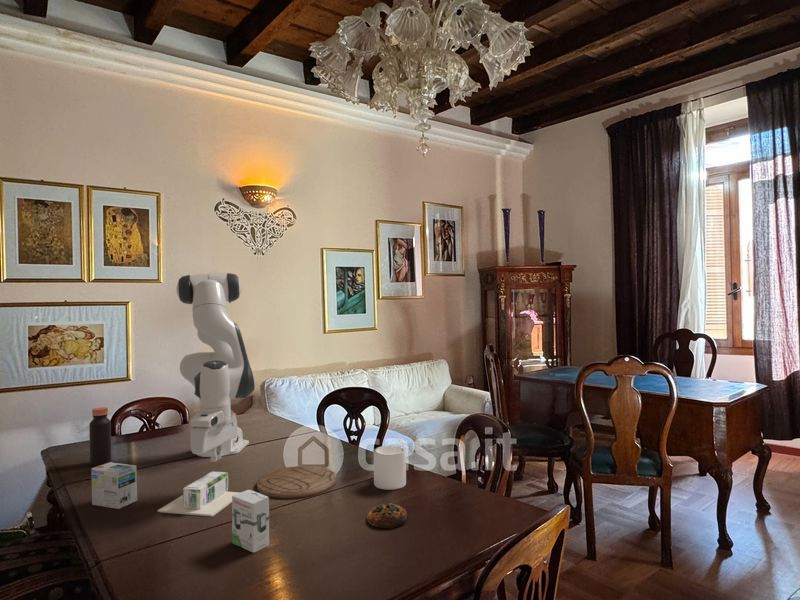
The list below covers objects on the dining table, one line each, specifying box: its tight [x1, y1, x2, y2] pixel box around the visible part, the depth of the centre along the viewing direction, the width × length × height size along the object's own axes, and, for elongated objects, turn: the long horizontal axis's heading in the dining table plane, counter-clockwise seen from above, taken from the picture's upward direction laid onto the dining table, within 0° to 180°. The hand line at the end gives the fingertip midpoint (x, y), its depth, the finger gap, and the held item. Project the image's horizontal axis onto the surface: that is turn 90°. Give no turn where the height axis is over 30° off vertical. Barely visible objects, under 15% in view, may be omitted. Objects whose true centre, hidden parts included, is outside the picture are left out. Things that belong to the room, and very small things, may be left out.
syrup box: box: [182, 471, 229, 509], centre depth 149 cm, size 6×6×14 cm
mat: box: [157, 491, 241, 517], centre depth 147 cm, size 16×17×1 cm
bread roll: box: [366, 503, 408, 529], centre depth 135 cm, size 11×11×5 cm
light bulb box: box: [91, 461, 138, 510], centre depth 148 cm, size 11×7×11 cm, turn 71°
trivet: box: [256, 465, 337, 500], centre depth 162 cm, size 25×25×2 cm
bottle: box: [88, 406, 112, 467], centre depth 185 cm, size 7×7×20 cm
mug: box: [373, 445, 407, 490], centre depth 163 cm, size 14×10×11 cm
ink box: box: [231, 489, 270, 553], centre depth 122 cm, size 9×5×12 cm, turn 54°
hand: (215, 460), depth 154 cm, fingers closed
